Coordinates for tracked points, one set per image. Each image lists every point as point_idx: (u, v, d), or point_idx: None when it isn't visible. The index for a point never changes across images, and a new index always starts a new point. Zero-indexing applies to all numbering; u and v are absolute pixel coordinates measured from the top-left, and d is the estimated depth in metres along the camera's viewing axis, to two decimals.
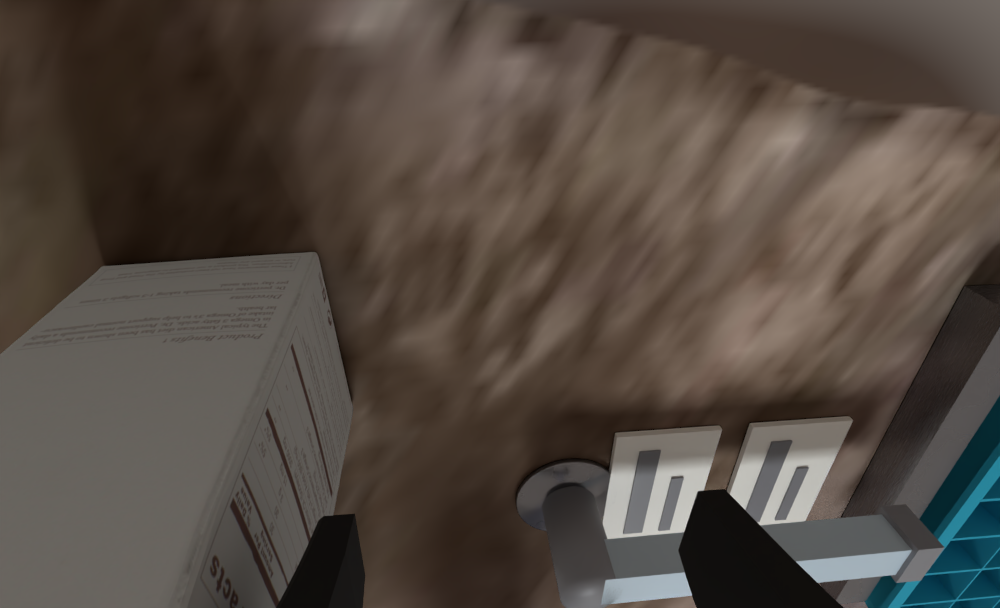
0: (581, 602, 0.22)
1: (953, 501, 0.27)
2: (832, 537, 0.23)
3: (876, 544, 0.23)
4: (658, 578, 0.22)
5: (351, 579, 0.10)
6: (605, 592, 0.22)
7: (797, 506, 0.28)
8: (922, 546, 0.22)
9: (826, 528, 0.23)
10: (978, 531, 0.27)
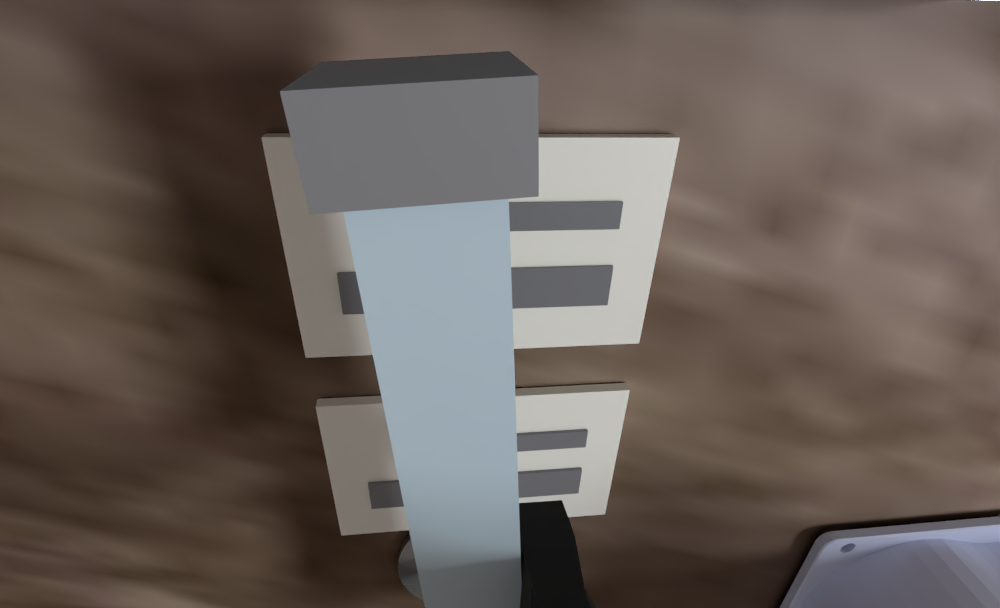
0: None
1: None
2: None
3: None
4: None
5: None
6: None
7: (582, 180, 0.11)
8: (306, 181, 0.05)
9: None
10: None
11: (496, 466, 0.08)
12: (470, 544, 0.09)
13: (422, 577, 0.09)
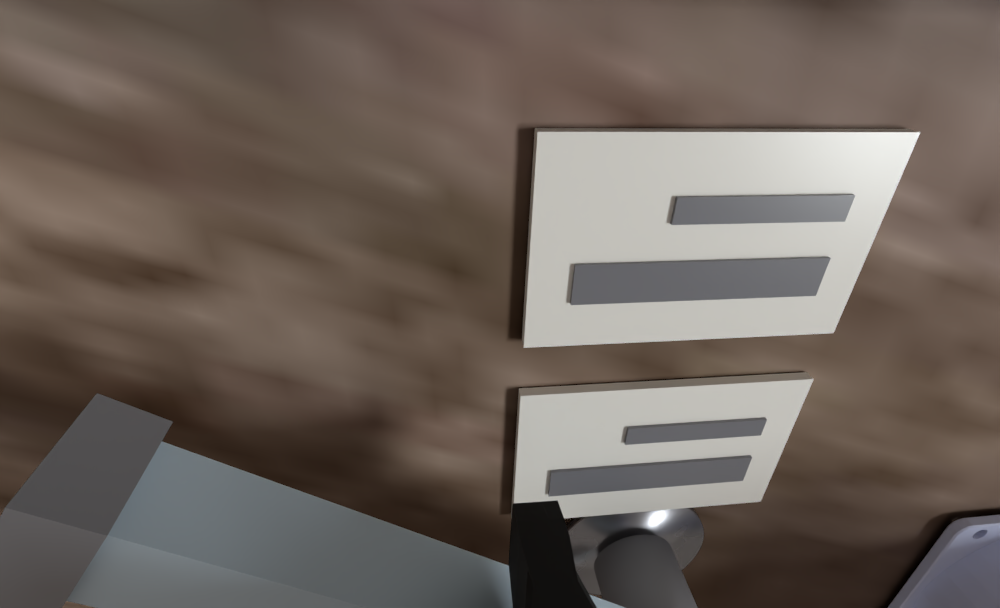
0: None
1: None
2: None
3: None
4: None
5: None
6: None
7: (821, 173, 0.11)
8: None
9: None
10: None
11: None
12: None
13: None
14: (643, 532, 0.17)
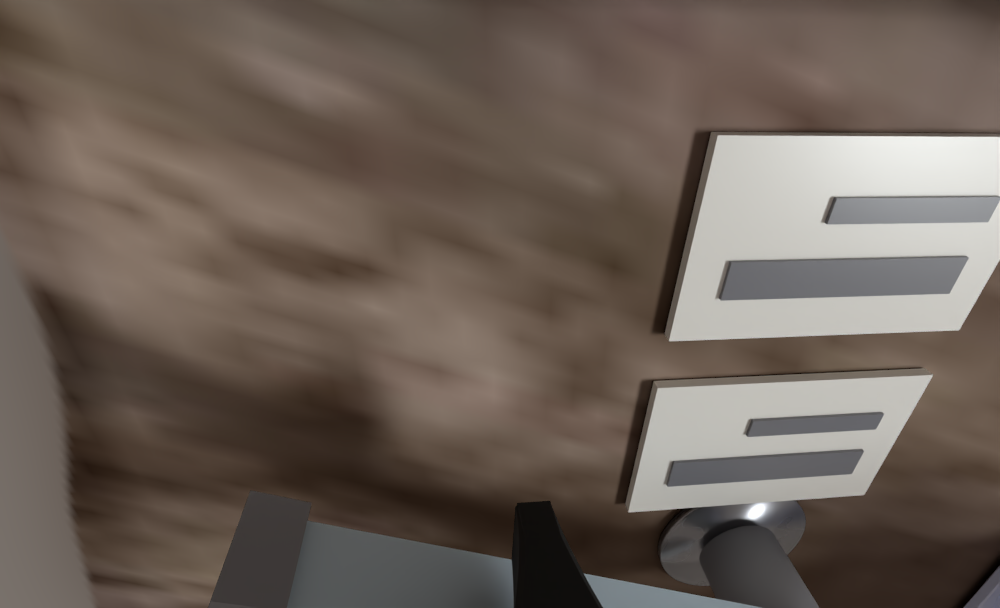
0: None
1: None
2: None
3: None
4: None
5: None
6: None
7: (971, 176, 0.12)
8: None
9: None
10: None
11: None
12: None
13: None
14: (749, 523, 0.17)
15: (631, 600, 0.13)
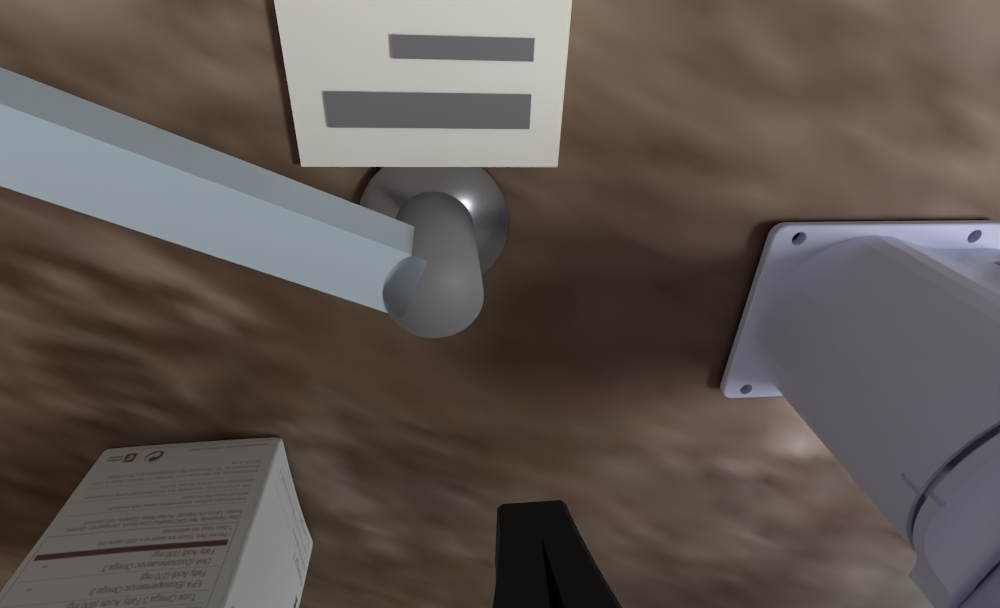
0: (455, 283, 0.13)
1: None
2: None
3: None
4: (319, 281, 0.13)
5: None
6: (411, 289, 0.13)
7: None
8: None
9: None
10: None
11: None
12: (86, 174, 0.11)
13: (119, 223, 0.12)
14: None
15: (207, 155, 0.12)
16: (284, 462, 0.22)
